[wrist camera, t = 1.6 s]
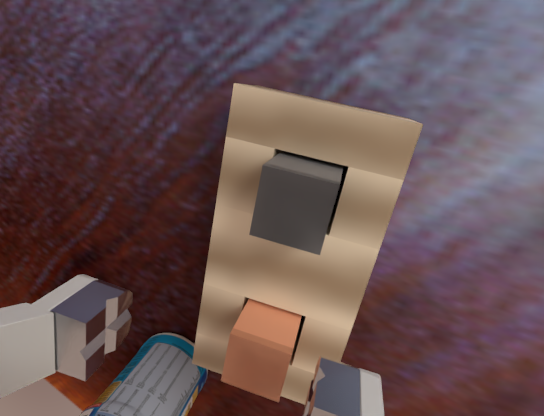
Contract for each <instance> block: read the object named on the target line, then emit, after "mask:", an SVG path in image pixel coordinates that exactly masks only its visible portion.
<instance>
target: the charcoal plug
mask: <svg viewBox="0 0 544 416" xmlns="http://www.w3.org/2000/svg"><path fill="white" fill-rule="evenodd" d="M343 167H344V166H343V165H339V164H335V163H331V162H327V161H323V160H318V159H314V158H310V157H306V156H302V155H298V154H294V153H290V152H286V151H282V152H280V153H279V154H277V155H276V156H275V157H273V158H272V159H270V160H269V161H268V162H266V163H265V164H263V166H262V171H261V176H260V181H259V187H258V192H257V197H256V202H255V207H254V212H253V218H252V223H251V228H250V233H249V235H252V236H255V237H259V238H262V239H266V240H269V241H272V242H276V243H279V244H283V245H286V246H290V247H293V248H296V249H300V250H303V251H307V252H310V253H314V254H317V255H320V253H321V250H322V246H323V243H324V239H325V235H326V232H327V228H328V225H329V221H330V218H331V214H332V211H333V207H334V203H335V200H336V196H337V193H338V189H339V186H340V181H341V177H342V172H343Z"/></svg>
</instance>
